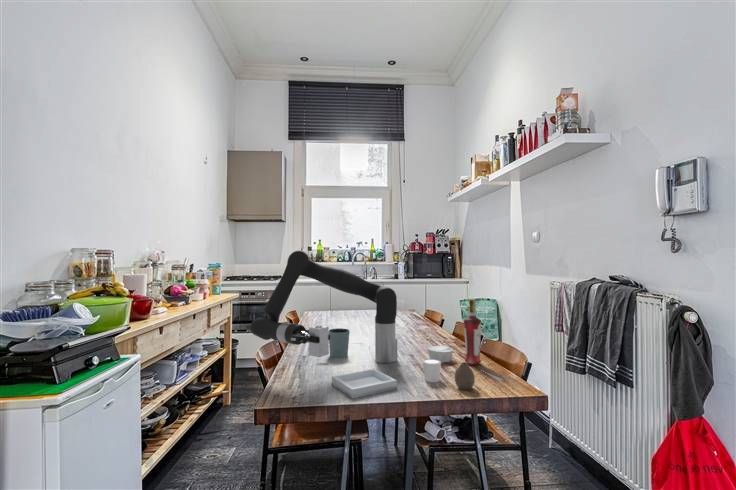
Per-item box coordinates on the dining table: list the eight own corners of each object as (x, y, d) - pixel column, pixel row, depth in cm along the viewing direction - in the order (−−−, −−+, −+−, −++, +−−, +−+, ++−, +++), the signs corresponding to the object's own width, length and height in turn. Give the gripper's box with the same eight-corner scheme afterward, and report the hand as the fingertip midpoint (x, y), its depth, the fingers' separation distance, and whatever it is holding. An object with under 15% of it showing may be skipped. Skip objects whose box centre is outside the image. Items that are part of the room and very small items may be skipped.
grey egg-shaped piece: (471, 393, 127) (471, 367, 127) (452, 389, 131) (451, 364, 131) (477, 387, 133) (476, 362, 133) (458, 383, 137) (458, 359, 137)
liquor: (467, 360, 167) (466, 298, 168) (484, 363, 163) (483, 299, 164) (461, 364, 161) (460, 299, 162) (478, 367, 157) (477, 300, 158)
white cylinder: (430, 383, 136) (430, 364, 137) (419, 378, 142) (419, 360, 143) (445, 381, 140) (444, 362, 140) (433, 375, 146) (433, 357, 146)
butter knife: (497, 380, 139) (504, 379, 140) (459, 362, 165) (465, 361, 166) (497, 382, 139) (504, 380, 140) (459, 363, 165) (465, 362, 166)
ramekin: (453, 364, 161) (453, 352, 162) (427, 363, 164) (427, 351, 164) (452, 357, 172) (452, 346, 173) (428, 356, 175) (428, 345, 175)
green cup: (337, 351, 184) (337, 327, 184) (354, 354, 178) (353, 329, 178) (324, 356, 175) (324, 330, 176) (340, 359, 169) (340, 333, 170)
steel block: (318, 352, 138) (318, 324, 138) (328, 354, 135) (328, 326, 135) (309, 355, 133) (308, 326, 134) (319, 357, 131) (319, 328, 131)
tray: (373, 376, 145) (373, 368, 145) (396, 388, 132) (396, 380, 132) (331, 384, 136) (331, 376, 136) (352, 398, 122) (352, 389, 123)
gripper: (276, 326, 137) (310, 331, 127) (304, 320, 148) (337, 325, 139) (276, 347, 136) (310, 353, 127) (304, 339, 148) (337, 345, 139)
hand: (324, 338), depth 133 cm, fingers closed on steel block, 5 cm apart
